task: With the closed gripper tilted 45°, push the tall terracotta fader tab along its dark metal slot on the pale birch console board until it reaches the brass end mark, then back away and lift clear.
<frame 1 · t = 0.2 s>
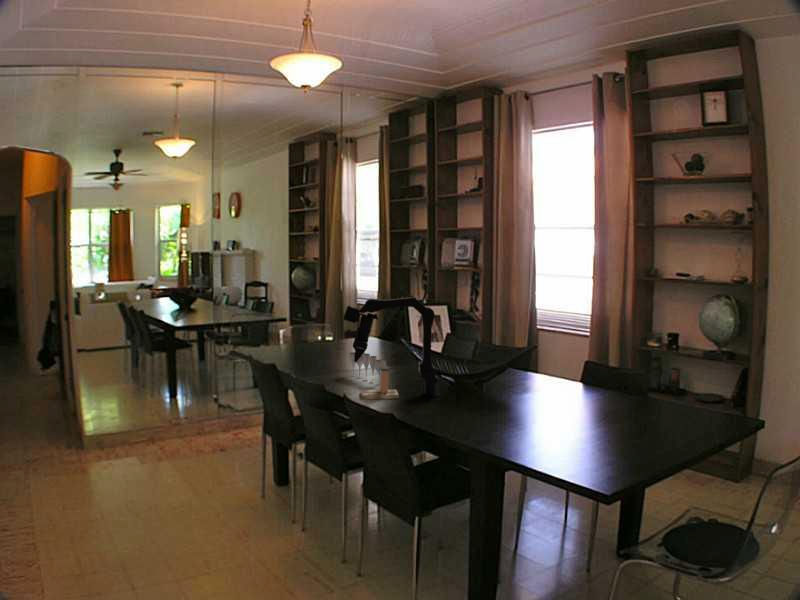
hand: (355, 359, 270), 16 cm above the table, fingers open, 9 cm apart
goblet set: (366, 381, 299), on the table
fader console: (379, 395, 270), on the table
fader tab: (384, 379, 270), point 7 cm above the table, slide at 0.0 cm
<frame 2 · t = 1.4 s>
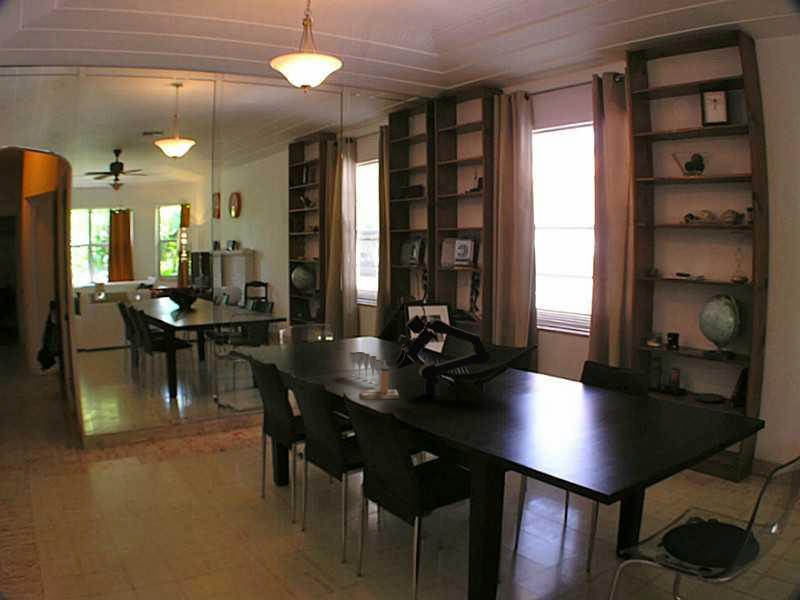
hand: (396, 366, 270), 13 cm above the table, fingers open, 8 cm apart
nothing on the table moved.
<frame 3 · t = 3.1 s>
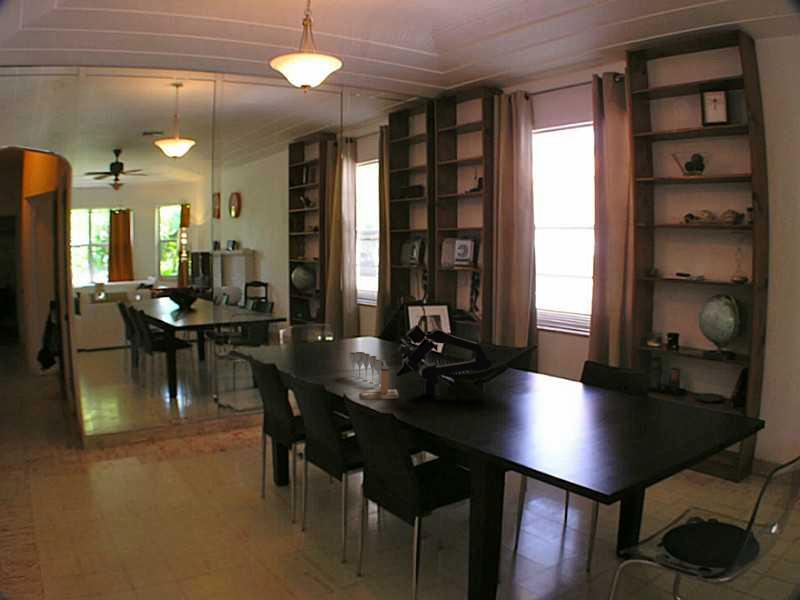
hand: (396, 375, 270), 9 cm above the table, fingers closed
nothing on the table moved.
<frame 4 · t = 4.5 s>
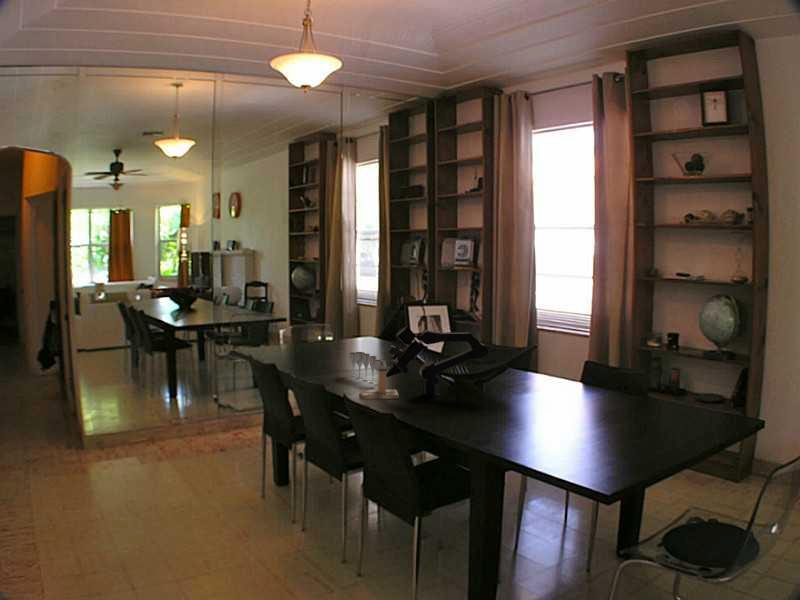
hand: (386, 376, 269), 9 cm above the table, fingers closed, pressing on fader tab
fader tab: (382, 379, 269), point 7 cm above the table, slide at 0.9 cm, touching gripper
everything else where it was.
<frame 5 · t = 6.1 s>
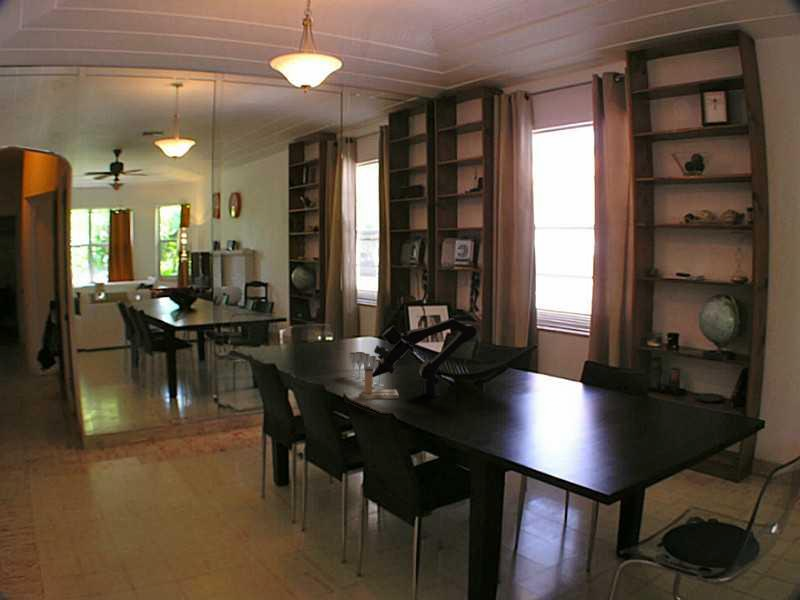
hand: (372, 376, 269), 9 cm above the table, fingers closed, pressing on fader tab
fader tab: (368, 379, 269), point 7 cm above the table, slide at 7.1 cm, touching gripper
everything else where it was.
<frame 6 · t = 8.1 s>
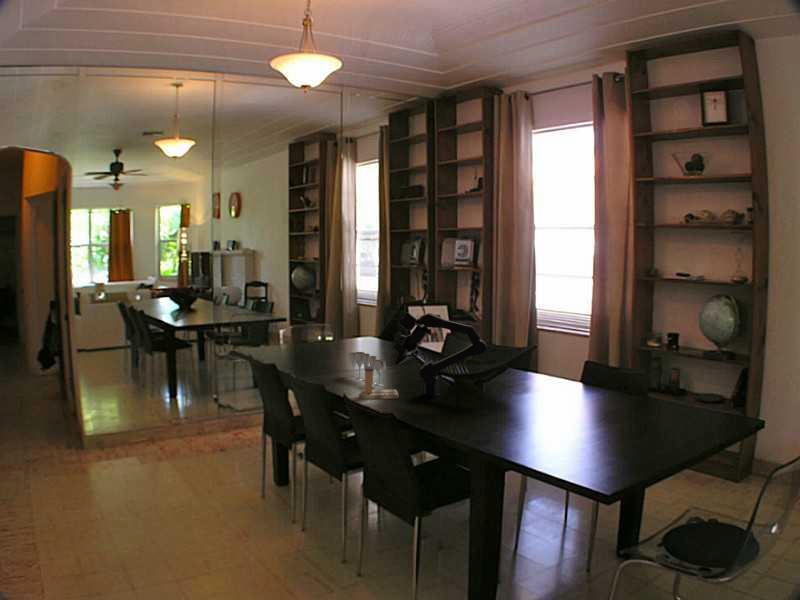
hand: (396, 364, 274), 13 cm above the table, fingers closed
fader tab: (368, 379, 269), point 7 cm above the table, slide at 7.0 cm
everything else where it was.
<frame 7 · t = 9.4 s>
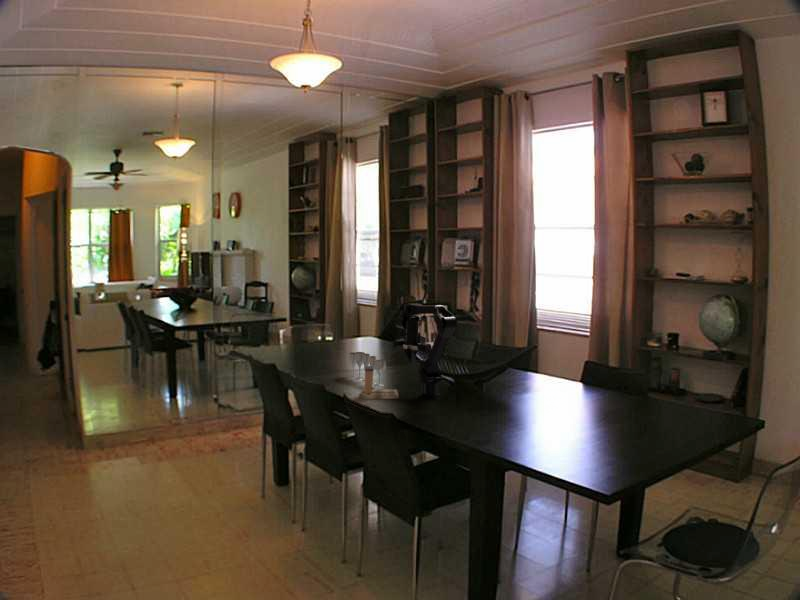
hand: (411, 363, 283), 12 cm above the table, fingers closed
nothing on the table moved.
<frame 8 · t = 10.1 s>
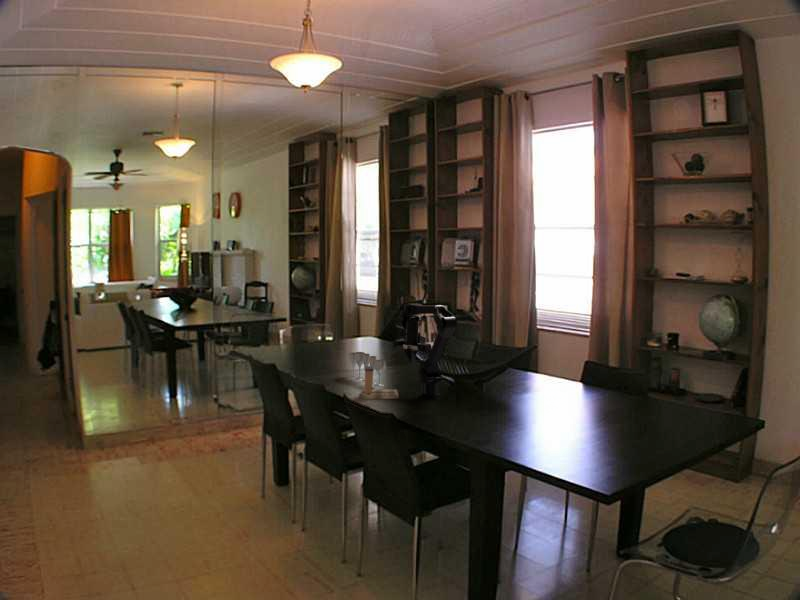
hand: (411, 363, 283), 12 cm above the table, fingers closed
nothing on the table moved.
at the end: fader tab slide at 7.0 cm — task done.
